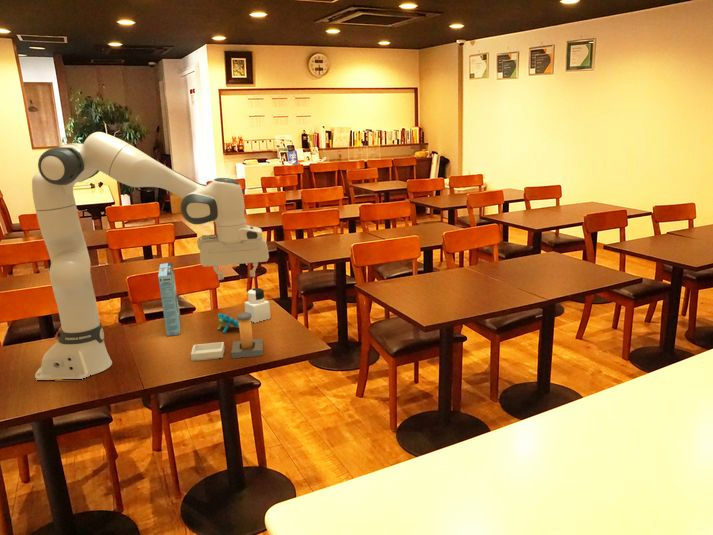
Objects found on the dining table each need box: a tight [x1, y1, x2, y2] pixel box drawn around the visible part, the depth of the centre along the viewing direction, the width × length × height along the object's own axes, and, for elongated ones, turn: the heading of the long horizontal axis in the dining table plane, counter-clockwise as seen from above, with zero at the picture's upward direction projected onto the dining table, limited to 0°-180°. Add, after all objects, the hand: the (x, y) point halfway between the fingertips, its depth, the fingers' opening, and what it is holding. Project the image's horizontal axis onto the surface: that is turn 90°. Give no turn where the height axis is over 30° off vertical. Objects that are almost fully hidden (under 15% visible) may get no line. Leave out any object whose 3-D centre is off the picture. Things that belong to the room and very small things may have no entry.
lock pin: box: [236, 311, 254, 349], centre depth 196 cm, size 5×5×13 cm
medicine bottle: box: [244, 287, 272, 324], centre depth 226 cm, size 7×7×12 cm
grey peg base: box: [230, 338, 264, 359], centre depth 198 cm, size 10×10×2 cm
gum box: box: [157, 262, 181, 337], centre depth 221 cm, size 20×5×23 cm, turn 15°
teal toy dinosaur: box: [217, 313, 239, 334], centre depth 216 cm, size 11×6×10 cm
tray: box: [190, 341, 225, 362], centre depth 196 cm, size 10×8×2 cm
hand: (237, 277), depth 178 cm, fingers open, 8 cm apart
